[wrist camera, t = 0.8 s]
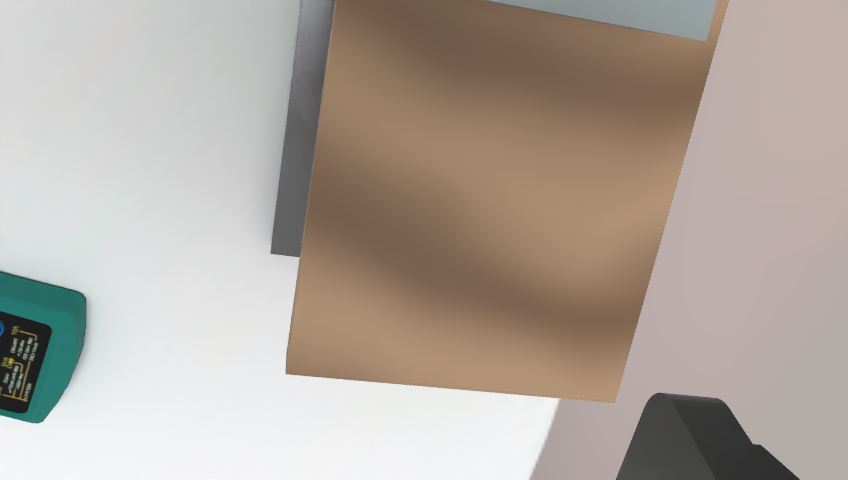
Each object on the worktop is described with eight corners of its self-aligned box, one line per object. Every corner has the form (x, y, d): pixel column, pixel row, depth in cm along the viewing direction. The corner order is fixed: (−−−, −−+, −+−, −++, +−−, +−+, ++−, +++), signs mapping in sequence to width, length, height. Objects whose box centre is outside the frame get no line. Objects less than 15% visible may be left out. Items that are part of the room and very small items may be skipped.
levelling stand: (360, -469, 24) (366, -517, 20) (762, -349, 27) (836, -371, 23) (271, 242, 37) (264, 298, 33) (550, 275, 39) (575, 331, 35)
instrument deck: (398, -470, 21) (446, -697, 14) (794, -351, 23) (1009, -492, 16) (286, 348, 28) (280, 474, 21) (596, 377, 30) (684, 500, 23)
